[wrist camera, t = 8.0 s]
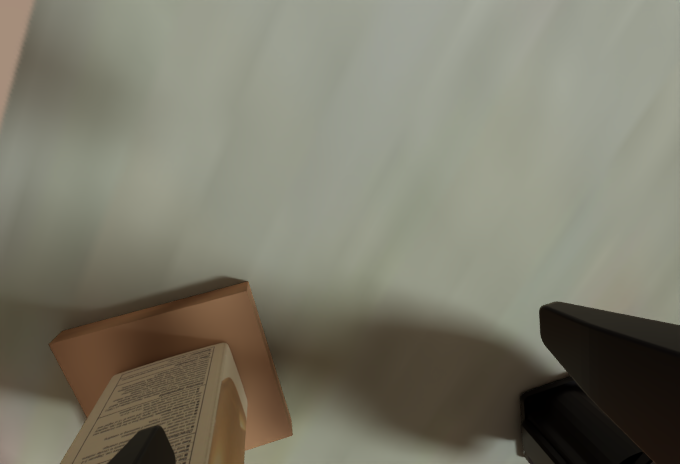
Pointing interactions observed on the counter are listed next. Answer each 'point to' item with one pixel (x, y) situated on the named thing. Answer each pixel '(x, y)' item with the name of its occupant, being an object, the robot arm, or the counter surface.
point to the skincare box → (171, 410)
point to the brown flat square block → (181, 352)
